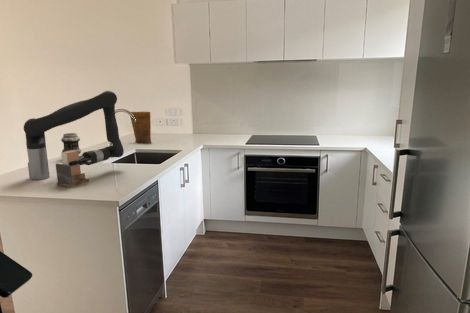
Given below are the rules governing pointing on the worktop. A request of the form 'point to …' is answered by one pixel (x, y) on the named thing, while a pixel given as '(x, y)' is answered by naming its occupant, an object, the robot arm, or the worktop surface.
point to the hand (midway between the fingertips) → (66, 163)
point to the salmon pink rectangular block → (70, 157)
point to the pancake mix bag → (142, 127)
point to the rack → (68, 177)
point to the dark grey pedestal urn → (71, 142)
